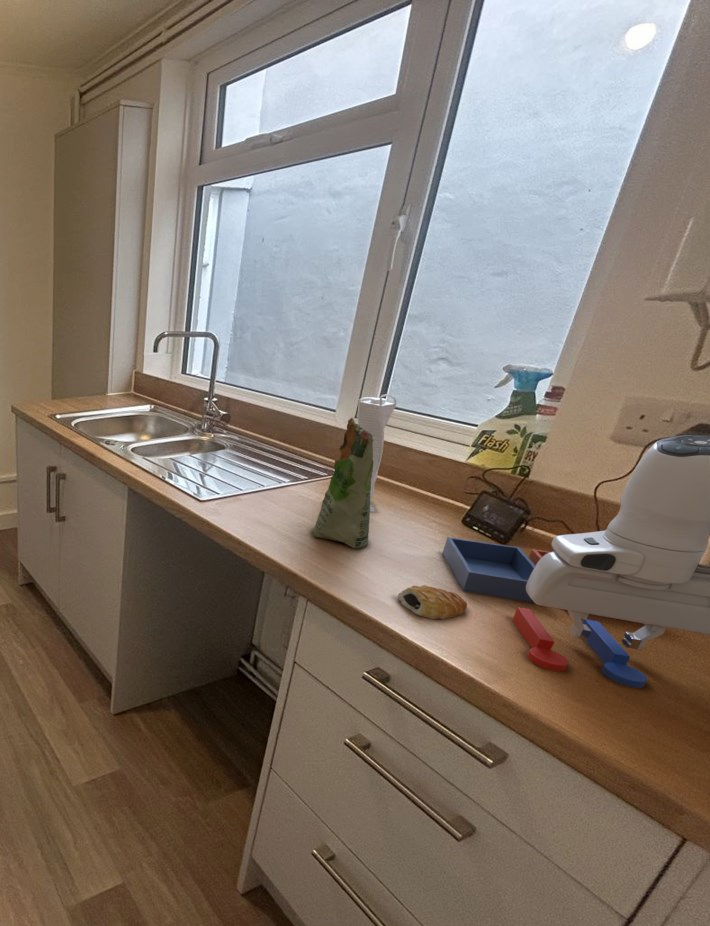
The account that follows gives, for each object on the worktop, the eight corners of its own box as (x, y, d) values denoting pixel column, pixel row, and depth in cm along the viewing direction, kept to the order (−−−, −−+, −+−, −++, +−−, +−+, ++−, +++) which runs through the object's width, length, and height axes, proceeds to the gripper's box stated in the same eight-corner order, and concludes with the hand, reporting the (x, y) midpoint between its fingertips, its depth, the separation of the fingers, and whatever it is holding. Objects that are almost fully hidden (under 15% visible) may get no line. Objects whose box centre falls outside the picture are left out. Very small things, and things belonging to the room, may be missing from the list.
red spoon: (533, 626, 82) (540, 610, 81) (570, 676, 72) (577, 660, 71) (502, 620, 84) (507, 605, 83) (532, 668, 73) (539, 652, 72)
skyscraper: (376, 516, 123) (407, 396, 112) (337, 511, 125) (363, 393, 115) (370, 503, 130) (398, 389, 119) (333, 499, 133) (357, 387, 122)
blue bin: (512, 566, 100) (519, 547, 98) (544, 607, 87) (553, 585, 86) (441, 555, 104) (447, 536, 103) (462, 592, 92) (469, 572, 90)
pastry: (443, 597, 90) (450, 577, 89) (477, 620, 84) (485, 599, 83) (392, 600, 90) (398, 580, 88) (422, 623, 83) (429, 603, 82)
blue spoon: (601, 638, 79) (608, 623, 78) (649, 693, 69) (659, 676, 68) (567, 632, 81) (573, 616, 80) (609, 684, 70) (617, 668, 69)
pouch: (346, 555, 105) (376, 433, 95) (294, 533, 114) (317, 420, 105) (380, 544, 109) (412, 426, 100) (327, 523, 119) (352, 414, 110)
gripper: (739, 560, 69) (690, 647, 74) (539, 534, 77) (508, 614, 82) (776, 583, 64) (720, 674, 69) (558, 552, 72) (523, 636, 77)
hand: (603, 641), depth 76 cm, fingers open, 4 cm apart
